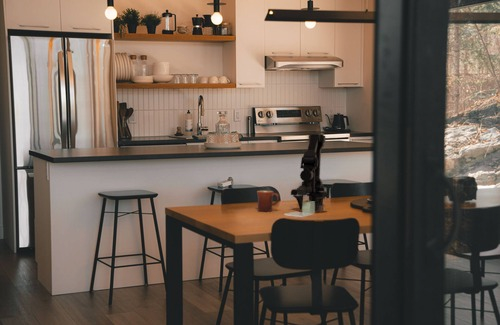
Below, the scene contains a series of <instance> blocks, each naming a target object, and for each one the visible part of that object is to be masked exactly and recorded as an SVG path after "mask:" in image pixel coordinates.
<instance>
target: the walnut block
mask: <svg viewBox="0 0 500 325" xmlns="http://www.w3.org/2000/svg"><path fill="white" fill-rule="evenodd" d="M322 212H324V205H323V206H319V208H318V210H317V211H316V210H315V213H322Z"/></svg>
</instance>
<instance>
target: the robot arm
mask: <svg viewBox="0 0 500 325" xmlns="http://www.w3.org/2000/svg"><path fill="white" fill-rule="evenodd" d="M326 139H327V138H326V135H324V134H323V133H310V134H308V142H309V143H308V146H307V150H306V151H305V152H304V153H303V155H302V156H301V161H300V169H303V170H302V171H301V172H300V174H299V178H300V180H301V181H302V182H301V185H299V186H297V187H296V188H293V189H291V191H290V195H291V196H292V197H293V198H295V199H296V201H297V204H298V206H299V210H302V207H303V201H304V196H307V197H308V201H315V210H316V211H317V210H318V208H319V206H323V207H324V203H323V201H324V199H325V198H328V192H327V191H325V187H324V185H323V181H322V179H321V177H320V176H321V161H322V160H321V158H322V156H321V155H322V150H323V148H324V147H325V143H326V141H327V140H326Z"/></svg>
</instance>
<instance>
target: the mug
mask: <svg viewBox="0 0 500 325" xmlns="http://www.w3.org/2000/svg"><path fill="white" fill-rule="evenodd" d="M256 194H257V211H258V212H260V213H261V212H262V213H269V212H271V211H272V210H273V206H276V205H277V204H278V203H279V200H280V195H279V194H278V193H277V192H274V190H257V191H256ZM273 196H276V201H275V202H273Z"/></svg>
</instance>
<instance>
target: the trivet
mask: <svg viewBox="0 0 500 325" xmlns="http://www.w3.org/2000/svg"><path fill="white" fill-rule="evenodd" d="M284 216H287V217H288V216H289V217H297V218H305V217H309V216H313V214H312V213H304V212H302V211H292V212H287V213H286V212H285V213H284Z"/></svg>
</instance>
